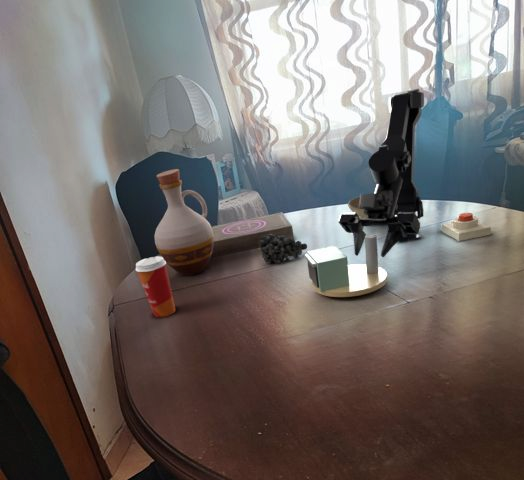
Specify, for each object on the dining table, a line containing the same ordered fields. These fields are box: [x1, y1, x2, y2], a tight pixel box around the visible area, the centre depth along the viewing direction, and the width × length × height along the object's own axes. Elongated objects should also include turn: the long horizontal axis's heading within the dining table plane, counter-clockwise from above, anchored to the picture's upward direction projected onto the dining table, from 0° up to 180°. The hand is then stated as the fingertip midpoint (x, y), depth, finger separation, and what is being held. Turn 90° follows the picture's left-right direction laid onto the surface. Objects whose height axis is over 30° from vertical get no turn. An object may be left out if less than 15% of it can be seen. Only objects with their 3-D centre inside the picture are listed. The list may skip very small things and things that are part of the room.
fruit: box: [256, 234, 308, 265], centre depth 138 cm, size 9×8×15 cm
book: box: [210, 212, 295, 258], centre depth 165 cm, size 30×22×5 cm
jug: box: [154, 168, 213, 276], centre depth 140 cm, size 20×18×30 cm
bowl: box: [347, 196, 368, 218], centre depth 156 cm, size 18×18×8 cm
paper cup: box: [135, 255, 176, 318], centre depth 116 cm, size 8×8×14 cm
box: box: [441, 215, 492, 242], centre depth 132 cm, size 11×9×4 cm
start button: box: [458, 212, 474, 222], centre depth 131 cm, size 4×4×2 cm
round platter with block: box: [303, 233, 388, 298], centre depth 111 cm, size 18×19×10 cm
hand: (369, 255), depth 110 cm, fingers open, 6 cm apart
